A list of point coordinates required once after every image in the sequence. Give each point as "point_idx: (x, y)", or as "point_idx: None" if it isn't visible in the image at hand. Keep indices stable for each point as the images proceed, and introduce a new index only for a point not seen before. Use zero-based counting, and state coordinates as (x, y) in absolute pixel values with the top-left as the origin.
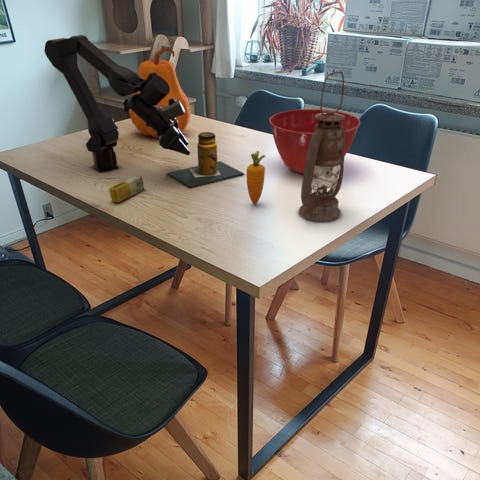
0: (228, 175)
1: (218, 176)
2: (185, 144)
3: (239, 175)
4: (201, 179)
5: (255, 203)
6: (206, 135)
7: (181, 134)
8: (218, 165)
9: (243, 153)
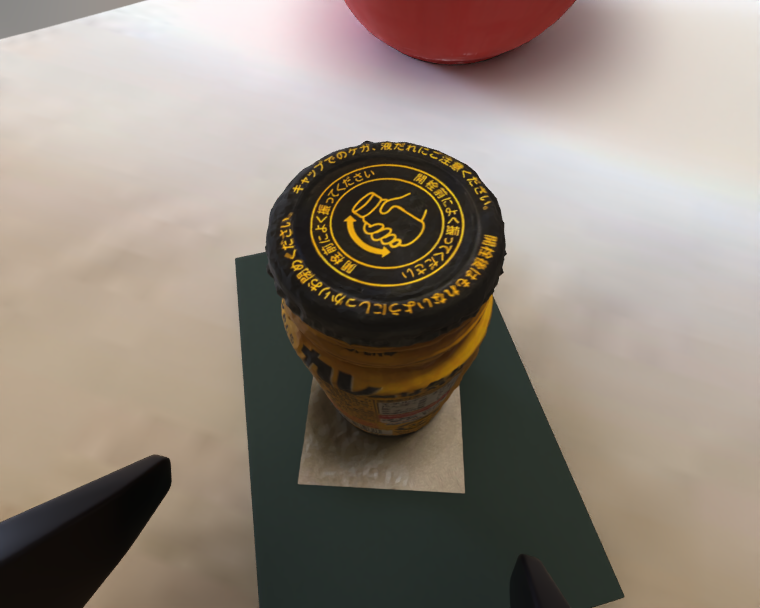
0: None
1: None
2: (155, 499)
3: None
4: (498, 455)
5: None
6: (420, 234)
7: (3, 573)
8: None
9: (181, 142)
